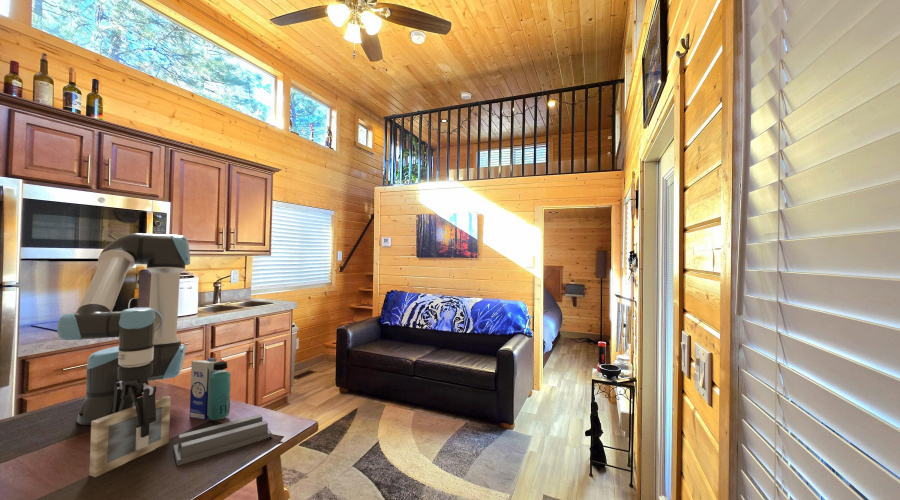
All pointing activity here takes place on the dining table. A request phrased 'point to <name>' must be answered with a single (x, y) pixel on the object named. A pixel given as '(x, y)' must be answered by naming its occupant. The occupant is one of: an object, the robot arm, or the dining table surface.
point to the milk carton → (200, 387)
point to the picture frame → (125, 437)
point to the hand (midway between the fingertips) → (132, 444)
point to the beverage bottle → (219, 392)
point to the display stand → (220, 438)
